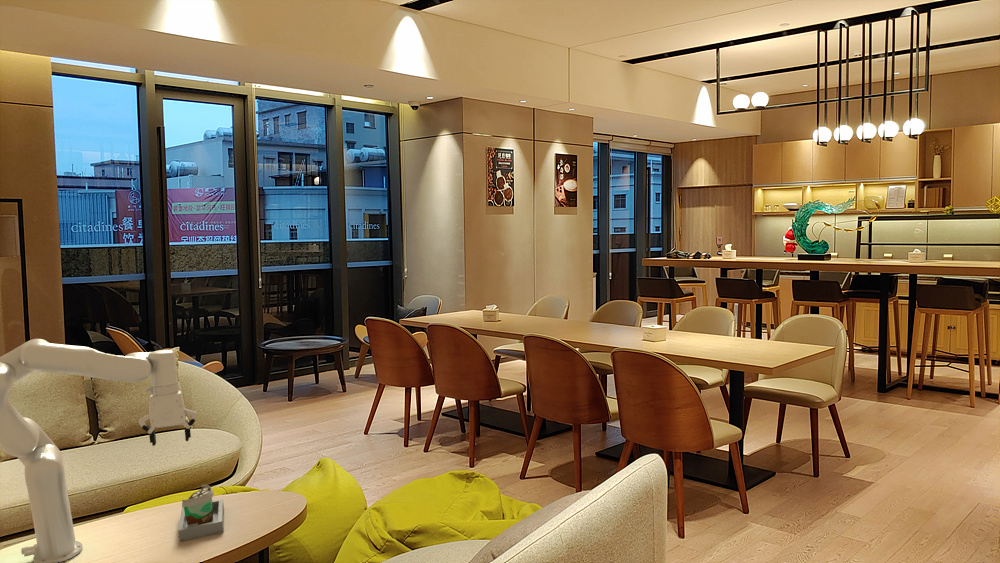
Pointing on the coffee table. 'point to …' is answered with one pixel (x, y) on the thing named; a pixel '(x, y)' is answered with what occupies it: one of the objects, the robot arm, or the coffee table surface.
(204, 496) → the food container
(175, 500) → the coffee table surface
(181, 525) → the tray
